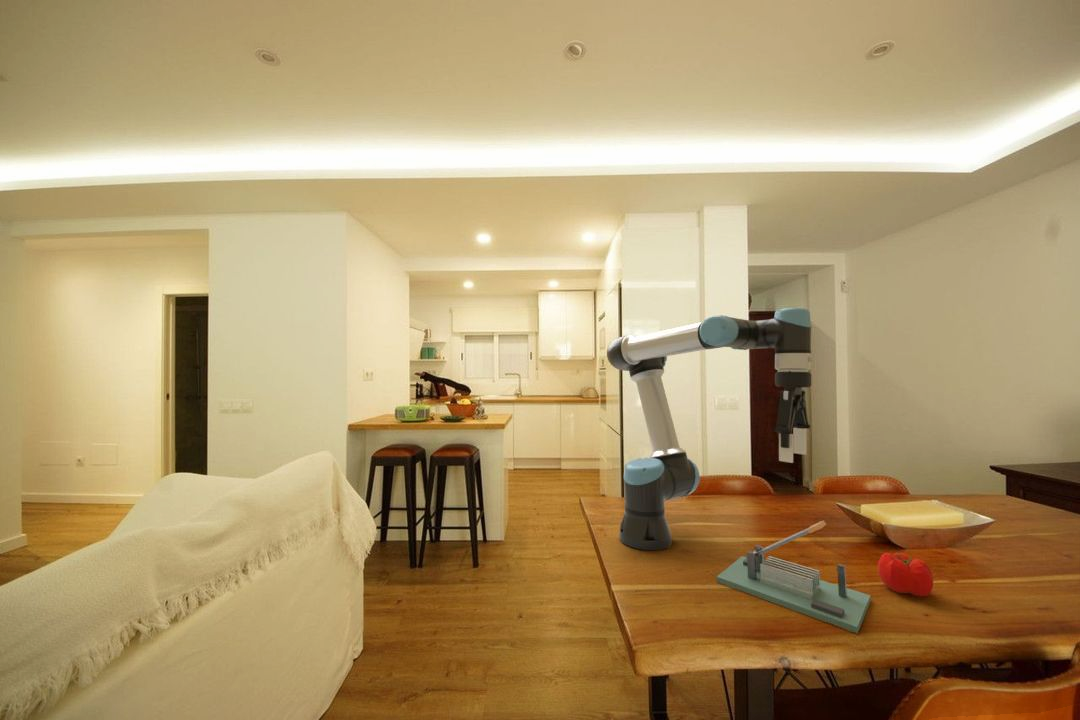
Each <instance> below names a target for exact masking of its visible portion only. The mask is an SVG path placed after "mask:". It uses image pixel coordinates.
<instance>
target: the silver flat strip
mask: <svg viewBox="0 0 1080 720" xmlns="http://www.w3.org/2000/svg"><path fill="white" fill-rule="evenodd" d="M826 525H827V523H826V522H825V520H821V521H818V522H817V523H815V524H812V525H810V526H809V527H807V528H805V529H803V530H801V531H799V532H796V533H794V534H792V535H789V536H787V537H786V538H783V539H781V540H779V541H777V542H775V543H772V544H769V545H767V546H766V547H763V549H761V550H755V549H754V550H753V552H755V553H756V559H757V558H758V557H759V556H760V555H761V554H766V553H769V552H771V551H772V550H775V549H777V548H780V547H781V546H783V545H785V544H788V543H791V542H792V541H793V542H794V540H797V539H800V538H801V537H803V536H806V535H808V534H812V533H814V532H817V531H818V530H821V529H823V528H824V527H825V526H826Z"/></svg>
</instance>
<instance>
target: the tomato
mask: <svg viewBox="0 0 1080 720" xmlns="http://www.w3.org/2000/svg"><path fill="white" fill-rule="evenodd" d="M879 557H880V558H879V560H878V562H877V572H878V575H879V577H880V580H881V581H882V583H883V584H884V585H886V587H888V588H889V589H890V590H893V591H894V592H896V593H899V594H908V593H909V594H910V595H911V596H914V597H927V596H929V595H930V594H931V592H932V590H933V588H934V577H933V574H932V571H931V569H930V567H929V565H927V564H926V562H925V561H924V560H923V559H921V558H913V557H910V556H908V555H906V554H904V553H901V552H896V553H895V552H894V554H893V553H890V552H884V553H883V554H882V555H880V556H879Z"/></svg>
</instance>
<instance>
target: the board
mask: <svg viewBox="0 0 1080 720" xmlns="http://www.w3.org/2000/svg"><path fill="white" fill-rule="evenodd" d="M760 577H761V572H758V571H757V579H756V580H753V579H751V578H748V567H747V556H742V555H741V556H740V557H739V558H738V559H736V560H735V561H734V562H733V563H732V564H730V565H729V566H728V567H727V568H726V569H723V571H722V572H721V573H719V574H718V575H717V576H716V582H717V583H720V584H722V585H724V586H727V587H730V588H732V589H735V590H738V591H739V592H740V591H741V592H744V593H746V594H749V595H752V596H753V597H754V596H755V597H756V598H760V599H762V600H765V601H767V602H770V603H773V604H776V605H779V606H780V607H783V608H786V609H790V610H792V611H794V612H797V613H800V614H803V615H806V616H809V617H811V618H813V619H816V620H819V621H822V622H824V623H827V622H828V623H827V624H830V623H831V624H830V625H832V624H834V625H833V626H835V625H836V626H835V627H838V626H839V627H838V628H840V627H842V628H841V629H843V628H844V629H843V630H846V629H847V630H846V631H849V632H851V631H852V633H854V632H855V633H854V634H857V633H858V634H859V632H860V629H861V626H862V624H863V622H864V619H865V616H866V614H867V611H868V609H869V607H870V604H871V599H872V598H871V595H870V594H867V593H863V592H861V591H857V590H854V589H852V588H848V587H846V588H847V597H846V598H844V597H841V596H839V590H838V584H835V583H831V582H828V581H824V580H821V579H820V590H819V591H818V593H817V594H816V596H815V597H814V599H813V600H809V599H807V598H804V597H801V596H798V595H795V594H792V593H789V592H786V591H783V590H780V589H777V588H774V587H772V586H769V585H766V584H763V583H760ZM858 631H859V632H858Z"/></svg>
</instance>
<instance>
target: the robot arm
mask: <svg viewBox="0 0 1080 720" xmlns="http://www.w3.org/2000/svg"><path fill="white" fill-rule="evenodd" d="M811 320H812V319H811V312H810V310H808V309H807V308H805V307H791V308H790V307H788V308H782V309H778V310H775V312H774V317H773V318H770V319H762V320H761V319H760V320H759V319H758V320H748V319H743V318H736V317H731V316H728V315H711V316H708V317H707V318H706V319H705V320H704V321H700V322H695V323H692V324H687V325H684V326H683V325H682V326H678V327H674V328H669V329H664V330H660V331H657V332H656V331H655V332H653V333H652V332H651V333H647V334H643V335H639V336H636V335H633V334H629V335H623V336H619V337H616V338H615V339H613V340H612V341H610V343H608V346H607V349H606V357H607V360H608V363H610V365H611V367H613V368H615V369H617V370H620V371H623V372H624V371H625V372H628V373H629V376H630V377H629V378H630V380H631V381H633V382H634V383H636V387H637V392H638V394H639V395H638V396H639V398H640V404H641V408H642V412H643V417H644V420H645V425H646V428H647V432H648V436H649V440H650V445H651V448H652V453H651V454H650V456H649V457H643V458H640V457H639V458H634V459H631V460H629V461H628V462H627V463H626V464H625V466H624V469H623V470H624V472H623V485H624V486H623V491H624V492H623V494H624V513H623V517H622V521H621V523H620V527H619V531H618V534H619V535H618V536H619V537H618V539H619V540H620V542H621V543H623V544H624V545H625V546H628V547H630V548H633V549H636V550H637V549H638V550H644V551H660V550H661V551H662V550H665V549H667V548H669V547H671V546H672V540H673V539H672V533H671V529H670V527H669V524H668V521H667V519H666V514H665V511H666V510H665V508H666V507H665V501H669V500H673V499H677V498H678V499H679V498H684V497H686V496H688V495H690V494H691V495H692V493H694V492H695V491H696V489H697V488H698V486H699V483H700V472H699V468H698V466H697V464H695V462H693V460H691V459H690V458H688V456H687V455H688V454H687V451H686V450H685V449H683V448H682V447H681V446H680V444H679V440H678V437H677V433H676V428H675V426H674V421H673V418H672V414H671V410H670V406H669V402H668V398H667V395H666V390H665V387H664V382H663V379H662V376H663V375H664V373H665V369H664V367H665V366H666V362H667V361H668V357H669V356H675V355H682V354H686V353H687V354H688V353H693V352H700V351H705V350H712V349H713V350H714V349H718V348H721V349H722V348H730V349H732V350H739V351H740V350H742V351H746V350H747V351H748V350H757V349H760V350H761V349H774V369H775V370H777V371H776V372H775V373H774V385H775V386H776V387H780V388H784V390H780V391H779V403H778V404H779V405H778V411H777V417H776V418H777V419H776V426H775V428H774V433H776V434H778V462H779V461H780V462H784V463H791V464H793V463H794V454H796V455H804V456H805V455H806V456H807V429H809V430H810V429H811V424H809V420H808V419H809V417H808V410H807V404H806V403H807V402H806V390H804V389H802V388H810V387H812V373H811V371H810V370H811V369H812V362H814V361H815V358H814V357H812V321H811ZM809 371H810V372H809Z"/></svg>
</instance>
